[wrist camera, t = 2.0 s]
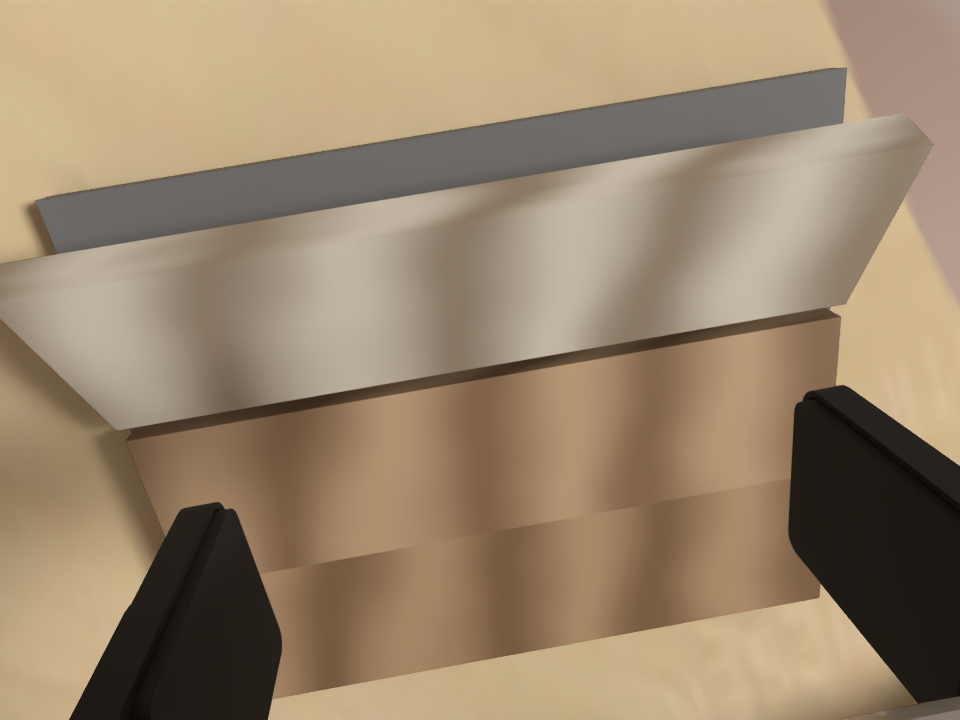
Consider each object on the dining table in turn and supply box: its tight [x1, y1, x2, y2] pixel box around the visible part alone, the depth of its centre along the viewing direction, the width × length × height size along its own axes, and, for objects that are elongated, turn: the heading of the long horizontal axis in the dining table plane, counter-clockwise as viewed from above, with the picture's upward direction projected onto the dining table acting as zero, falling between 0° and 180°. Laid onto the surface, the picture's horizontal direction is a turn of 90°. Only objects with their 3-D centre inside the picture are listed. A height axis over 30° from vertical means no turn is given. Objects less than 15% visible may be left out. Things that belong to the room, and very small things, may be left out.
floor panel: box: [35, 68, 847, 699], centre depth 26 cm, size 27×22×2 cm
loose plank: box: [0, 113, 934, 431], centre depth 21 cm, size 26×7×2 cm, turn 98°
